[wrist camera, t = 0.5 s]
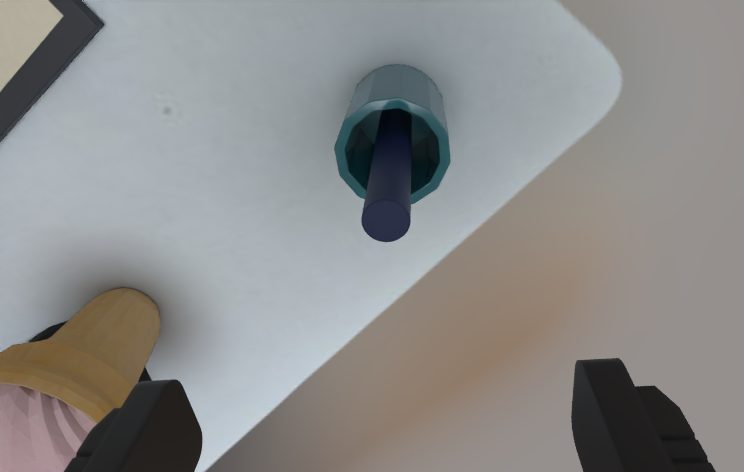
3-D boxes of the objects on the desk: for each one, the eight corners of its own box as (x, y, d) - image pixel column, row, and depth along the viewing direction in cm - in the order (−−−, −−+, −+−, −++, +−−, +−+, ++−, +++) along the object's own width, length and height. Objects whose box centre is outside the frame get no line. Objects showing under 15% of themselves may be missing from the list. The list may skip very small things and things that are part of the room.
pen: (374, 110, 30) (351, 217, 19) (399, 91, 30) (390, 190, 18) (393, 134, 31) (381, 251, 20) (418, 116, 30) (420, 226, 19)
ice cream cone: (137, 228, 36) (-112, 501, 19) (229, 336, 41) (96, 634, 24) (29, 283, 39) (-266, 559, 22) (126, 378, 44) (-56, 666, 27)
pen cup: (332, 102, 31) (312, 145, 25) (405, 43, 29) (403, 74, 23) (388, 170, 33) (382, 224, 27) (460, 119, 31) (472, 165, 25)
